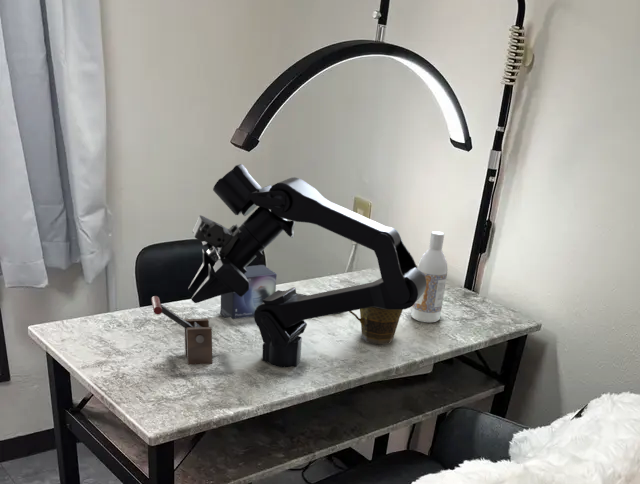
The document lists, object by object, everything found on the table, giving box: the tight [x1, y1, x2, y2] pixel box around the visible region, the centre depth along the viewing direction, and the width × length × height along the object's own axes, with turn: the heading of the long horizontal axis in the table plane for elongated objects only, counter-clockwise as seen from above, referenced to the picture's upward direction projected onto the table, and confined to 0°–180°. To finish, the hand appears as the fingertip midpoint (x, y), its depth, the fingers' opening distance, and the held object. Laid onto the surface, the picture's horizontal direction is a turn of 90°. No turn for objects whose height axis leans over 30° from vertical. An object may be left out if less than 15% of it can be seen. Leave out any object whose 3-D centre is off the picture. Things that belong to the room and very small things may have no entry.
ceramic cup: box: [348, 307, 403, 345], centre depth 155 cm, size 13×10×10 cm
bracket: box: [183, 318, 213, 366], centre depth 136 cm, size 10×8×8 cm
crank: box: [150, 295, 202, 329], centre depth 132 cm, size 11×6×2 cm
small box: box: [219, 264, 277, 320], centre depth 158 cm, size 11×6×10 cm, turn 126°
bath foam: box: [410, 230, 449, 323], centre depth 167 cm, size 7×7×20 cm
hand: (191, 296), depth 131 cm, fingers open, 5 cm apart
